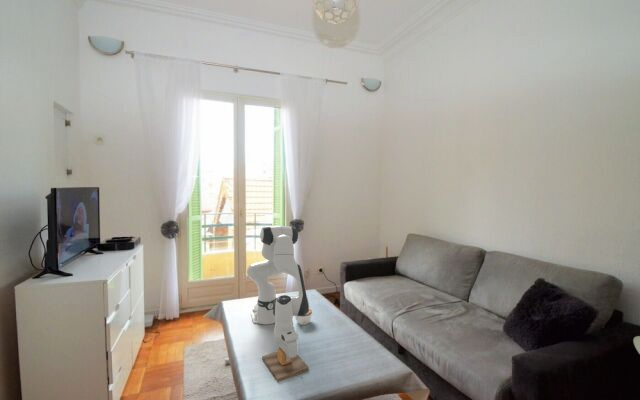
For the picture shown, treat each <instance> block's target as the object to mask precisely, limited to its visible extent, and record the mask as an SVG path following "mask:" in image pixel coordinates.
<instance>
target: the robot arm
mask: <svg viewBox="0 0 640 400" xmlns="http://www.w3.org/2000/svg"><path fill="white" fill-rule="evenodd" d="M298 231H299V230H297V227H294V226H288V225H287V226H286V225H266V226H265V225H264V226H263V227H262V228H261V230H260V234H259V238H260V241H261V242H262V243H263V245H262V248H261V256H262V257H263V258H264V259H265V260H261V261H257V262H253V263H251V264H249V265H248V267H247V269H246V274H247V275H246V276H247V277H248V278H249V279H250V280H251V281H252V282H254V284H255V285H256V286H257V294H258V296H257V297H258V299H257V302H256V304H254V308H252V311H251V312H250V317H251V319H252V322H253V324H260V325H272V324H274V328H273V340H274V342H275V343H276V344H277V346H278V349H279V348H281V349H282V350H283V351H284V352H285V354H286V357H285V360H286V361H287V362H288V361H290V358H293V357H296V355H298V343H297V340H298V339H299V338H298V337H299V336H298V334H297V332H296V330H295V327H294V321H293V317H295V316H305V315H306V314H307V313H308V312H309V309H310V301H309V298H308V295H307V291H306V285H305V280H304V276H303V275H304V274H303V272H302V271H303V270H302V268H301V265H300V264H299V263H297V261H296V259H295V248H294V245H295V244H296V243H297V242H298V239H299V232H298ZM281 274H287V275H289V276H291V277H293V278H294V279H295V282H296V287H297V292H298V293H297V294H298V295H294V296H292V295H291V296H289V295H285V294H284V295H279V296H278V297H276V292H277V291H276V289H277V288H276V286H275V284H274V283H273V282H272V281H271V282H270V281H269V278H272V277H277V276H279V275H281Z"/></svg>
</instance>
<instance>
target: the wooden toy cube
mask: <svg viewBox="0 0 640 400" xmlns="http://www.w3.org/2000/svg"><path fill="white" fill-rule="evenodd" d="M276 349H277V351H276V352H277V360H278V361H279V362H280V364H281V365H284V364H287V363H290V362H292V358H290V361H288V362H287V361H286V360H285V357H286V354H285V352H284V351H283V350H282V349H281V348H279V347H278V348H276Z"/></svg>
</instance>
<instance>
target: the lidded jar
mask: <svg viewBox="0 0 640 400" xmlns="http://www.w3.org/2000/svg"><path fill="white" fill-rule="evenodd" d="M312 312H313V310H312V309H311V308H309V312H308V313H307V314H306V315H305V316H294V318H295V320H296V322H297V323H298V325H301V326H306V325H308V324H309V323H310V322H311V320H312V315H313V313H312Z"/></svg>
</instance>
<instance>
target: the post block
mask: <svg viewBox="0 0 640 400" xmlns="http://www.w3.org/2000/svg"><path fill="white" fill-rule="evenodd" d="M261 359H262V362H263V363H264V364H265V365H266V366H265V367H267V369H268V370H269V371H270V373H271V374H272V376H273V377H274V379H275V381H276V382H277V383H279V382H281V381H284V380H287V379H289V378H292V377H295V376H297V375H300V374H303V373H306V372H308V371H310V369H309V368H310V366H308V365H307V363H306V362H305V361H304V360H303V359H302V358H301V357H300V356H299V355H298V354H297V355H296V357H293V358H292V362H290V363H287V364H284V365H281V364H280V362H279V361H278V360H277V351H275V352H271V353H268V354H265V355H262V356H261Z"/></svg>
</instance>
